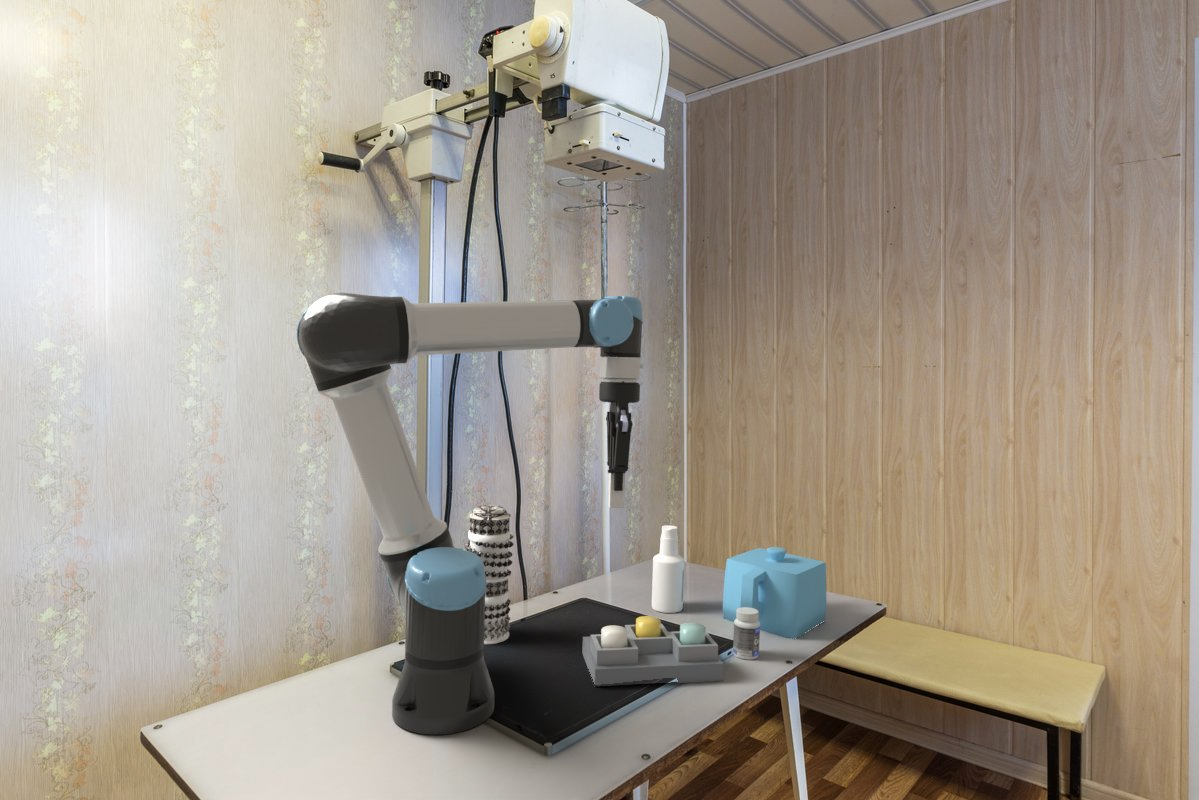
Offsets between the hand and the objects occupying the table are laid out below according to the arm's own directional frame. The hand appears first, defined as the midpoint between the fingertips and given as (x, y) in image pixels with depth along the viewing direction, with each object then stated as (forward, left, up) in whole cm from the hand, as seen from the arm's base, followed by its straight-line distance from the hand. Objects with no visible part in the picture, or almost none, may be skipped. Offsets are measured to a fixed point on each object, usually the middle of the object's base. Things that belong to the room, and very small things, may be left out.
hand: (616, 506), depth 134 cm
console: (+5, -10, -26) cm, 29 cm away
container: (+37, +11, -27) cm, 47 cm away
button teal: (+12, -12, -23) cm, 28 cm away
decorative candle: (-23, +7, -27) cm, 36 cm away
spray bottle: (+16, +19, -27) cm, 36 cm away
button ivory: (-2, -12, -23) cm, 26 cm away
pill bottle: (+24, -7, -27) cm, 36 cm away
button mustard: (+5, -8, -23) cm, 25 cm away
